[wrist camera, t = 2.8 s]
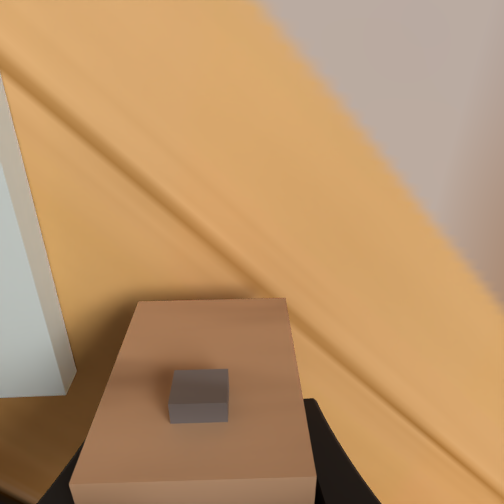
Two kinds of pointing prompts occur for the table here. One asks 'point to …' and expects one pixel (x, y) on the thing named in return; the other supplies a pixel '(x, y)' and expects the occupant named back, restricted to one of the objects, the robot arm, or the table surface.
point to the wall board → (26, 286)
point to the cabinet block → (201, 410)
